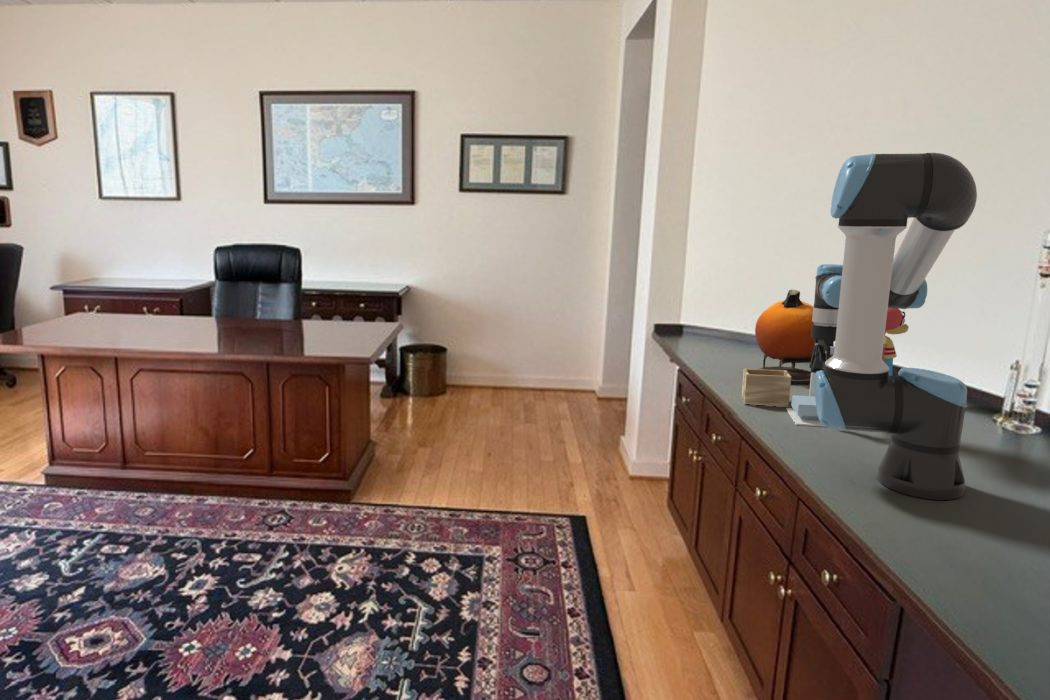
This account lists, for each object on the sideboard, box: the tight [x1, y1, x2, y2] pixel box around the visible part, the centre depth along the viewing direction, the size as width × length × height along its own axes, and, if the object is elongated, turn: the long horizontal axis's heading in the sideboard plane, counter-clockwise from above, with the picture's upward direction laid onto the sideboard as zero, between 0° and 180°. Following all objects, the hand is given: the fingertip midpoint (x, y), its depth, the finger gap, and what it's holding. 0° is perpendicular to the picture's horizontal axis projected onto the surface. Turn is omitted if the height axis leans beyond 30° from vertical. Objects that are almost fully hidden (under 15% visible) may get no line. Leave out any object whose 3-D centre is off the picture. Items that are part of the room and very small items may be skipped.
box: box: [741, 368, 792, 408], centre depth 185 cm, size 8×12×9 cm, turn 78°
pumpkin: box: [754, 289, 815, 386], centre depth 212 cm, size 22×22×30 cm
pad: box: [785, 407, 826, 428], centre depth 171 cm, size 14×14×1 cm
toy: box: [882, 308, 909, 376], centre depth 190 cm, size 15×10×30 cm
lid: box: [791, 395, 819, 420], centre depth 171 cm, size 9×13×4 cm
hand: (820, 402), depth 170 cm, fingers open, 13 cm apart
